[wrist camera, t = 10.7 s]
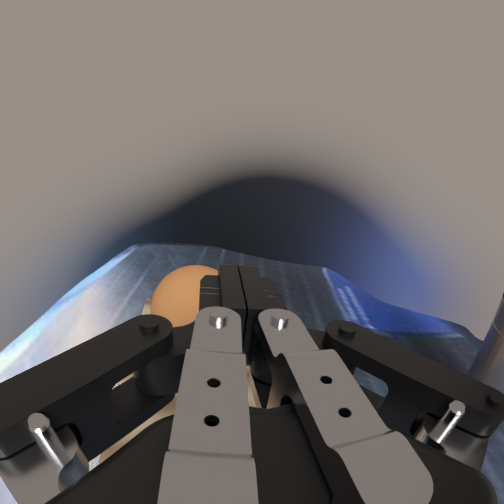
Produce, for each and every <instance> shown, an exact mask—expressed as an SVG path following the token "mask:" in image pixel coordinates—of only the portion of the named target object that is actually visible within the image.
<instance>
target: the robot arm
mask: <svg viewBox="0 0 504 504" xmlns="http://www.w3.org/2000/svg"><path fill="white" fill-rule="evenodd" d="M280 296H281V295H280V293H279V292H278V289H277V286H276V284H275V283H274V282H273V281H271V280H270V279H269V278H260V276H259V273H258V270H257V268H256V266H249V265H238V266H237V265H231V264H219V268H218V275H205V276H204V277H203V278H202V279H201V280H200V294H199V312H198V313H197V315H196V319H195V320H194V321H193V322H192V323H190V324H187V325H184V326H178V327H173V325H172V323H171V322H170V321H169V320H168V319H167V318H165V317H163V316H160V315H154V314H145V315H140V316H136V317H134V318H132V319H130V320H128V321H126V322H124V323H122V324H120V325H118V326H116V327H114V328H112V329H110V330H108V331H106V332H104V333H102V334H100V335H98V336H96V337H94V338H92V339H90V340H88V341H85V342H83V343H81V344H79V345H77V346H75V347H73V348H71V349H69V350H67V351H65V352H63V353H61V354H59V355H57V356H55V357H53V358H51V359H49V360H47V361H45V362H43V363H41V364H39V365H37V366H34V367H32V368H30V369H28V370H26V371H24V372H22V373H20V374H18V375H16V376H14V377H12V378H10V379H8V380H6V381H4V382H2V383H0V476H1V478H2V479H3V481H4V483H5V484H6V486H7V487H8V489H9V491H10V492H11V494H12V495H13V497H14V498H15V500H16V501H17V503H18V504H497V496H496V492H495V490H494V487H493V485H492V484H491V482H490V481H489V479H488V478H487V477H486V476H485V475H484V474H483V473H481V472H480V471H481V468H482V464H483V460H484V457H485V453H486V449H487V444H488V442H489V441H490V440H491V439H492V438H493V437H494V436H495V434H496V433H497V432H498V431H499V429H500V428H501V427H502V425H503V424H504V293H503V296H502V299H501V302H500V304H499V307H498V309H497V312H496V314H495V317H494V319H493V321H492V324H491V326H490V329H489V331H488V333H487V335H486V337H485V339H484V341H483V343H482V346H481V348H480V350H479V352H478V354H477V356H476V358H475V360H474V361H473V363H472V365H471V367H470V369H469V371H468V373H467V374H466V375H464V374H462V373H459V372H457V371H455V370H453V369H451V368H448V367H446V366H444V365H442V364H440V363H438V362H435V361H433V360H431V359H429V358H427V357H425V356H423V355H420V354H418V353H416V352H414V351H412V350H410V349H408V348H405V347H403V346H401V345H399V344H397V343H395V342H393V341H391V340H389V339H386V338H384V337H382V336H380V335H378V334H376V333H374V332H372V331H370V330H368V329H365V328H363V327H361V326H359V325H357V324H355V323H352V322H349V321H343V320H337V321H332V322H330V323H329V324H328V325H327V327H326V330H325V332H323V331H317V330H312V329H308V328H305V326H304V324H303V323H302V321H301V319H300V318H299V317H298V316H297V315H296V314H294V313H292V312H290V311H287V309H286V307H285V305H284V302H283V300H282V298H281V297H280ZM246 365H250V376H249V384H250V387H251V391H252V394H253V397H254V401H255V404H256V407H251V406H249V401H248V385H247V369H246ZM356 367H358V368H360V369H362V370H364V371H366V372H368V373H370V374H371V375H373V376H375V377H377V378H379V379H381V380H383V381H384V382H385V383H386V384H387V386H388V390H389V391H388V394H387V396H386V397H382V396H380V395H378V394H376V393H374V392H372V391H370V390H368V389H366V388H365V387H363V386H361V385H359V384H358V383H357V382H356V380H355V379H354V377H353V374H354V371H355V369H356ZM132 373H133V375H134V376H133V377H131V378H130V379H128V380H127V381H125V382H123V383H122V384H120V385H119V386H117V387H115V388H114V389H112V388H113V387H114V385H115V384H116V383H118V382H119V381H121V380H122V379H124V378H126V377H127V376H129V375H130V374H132ZM176 393H178V396H177V401H176V407H175V413H174V414H173V415H170V416H167V417H164V418H162V419H160V420H157V421H155V422H154V423H152V424H150V425H149V426H147V427H146V428H145V429H143V430H142V431H141V432H140V433H139V434H137V435H136V436H135V437H134V438H132V439H131V440H130V441H129V442H127V443H126V444H125V445H124V446H122V447H121V448H120V449H118V450H117V451H116V452H115V453H113V454H112V455H111V456H109V457H108V458H107V459H106V460H104V461H103V462H102V463H100V464H99V465H98V466H96V467H95V468H94V469H92V470H91V471H90V472H89V463H88V462H89V461H91V460H92V459H94V458H95V457H97V456H98V455H100V454H101V453H102V452H104V451H105V450H107V449H108V448H110V447H111V446H112V445H114V444H115V443H117V442H118V441H119V440H121V439H122V438H124V437H125V436H126V435H128V434H129V433H130V432H132V431H133V430H135V429H136V428H137V427H139V426H140V425H141V424H143V423H144V422H145V421H147V420H148V419H149V418H151V417H152V416H153V415H155V414H156V413H157V412H159V411H160V410H161V409H162V408H164V407H165V406H166V405H168V404H169V403H170V402H171V401H172V400H173V399H174V397H175V394H176Z"/></svg>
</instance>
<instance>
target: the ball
mask: <svg viewBox="0 0 504 504" xmlns="http://www.w3.org/2000/svg"><path fill="white" fill-rule="evenodd" d="M205 275H218V271H217V270H215V269H213V268H210V267H207V266H201V265H191V266H185V267H182V268H179V269H177V270H174V271H173V272H171V273H170V274H168V275H167V276H166V277H165V278H164V279H163V280H162V281H161V282H160V284H159V285H158V286H157V288H156V290H155V292H154V295H153V298H152V302H151V314H154V315H160V316H163V317H165V318H167V319H168V320H169V321H170V322H171V323H172V325H173V327H178V326H184V325H187V324H190V323H192V322H193V321H194V320H195V319H196V315H197V313H198V312H199V294H200V280H201V279H202V278H203V277H204V276H205Z"/></svg>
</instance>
